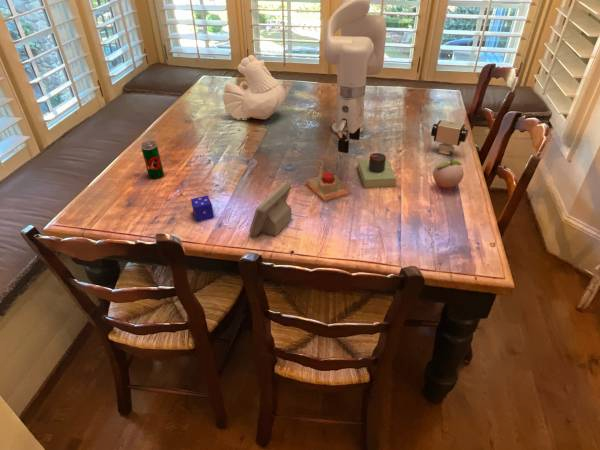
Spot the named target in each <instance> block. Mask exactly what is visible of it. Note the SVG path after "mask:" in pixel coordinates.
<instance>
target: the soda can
mask: <svg viewBox="0 0 600 450" xmlns="http://www.w3.org/2000/svg"><path fill="white" fill-rule="evenodd" d="M140 148H141V152H142V156H143V160H144V164H145V167H146V171H147V176H148V177H149V178H150V179H152V180H153V179H154V180H156V179H161V178H162V177H163V175H164V174H165V173H164V169H163V163H162V160H161V155H160V151H159V146H158V144H156V142H155V141H154V140H147V141H144V142H142V144H141V147H140Z"/></svg>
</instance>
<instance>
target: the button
mask: <svg viewBox="0 0 600 450" xmlns="http://www.w3.org/2000/svg"><path fill="white" fill-rule="evenodd" d="M322 174H323V175H322ZM322 174H321V175H322V180H323V181H324V182H332V181H334V175H335V174H334V173H333V172H332V171H331V172H329V171H327V172H323V173H322Z"/></svg>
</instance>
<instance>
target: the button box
mask: <svg viewBox="0 0 600 450" xmlns="http://www.w3.org/2000/svg"><path fill="white" fill-rule="evenodd" d="M322 175H323V173H322V174H320V175H318V176H315V177H312V178H308V179H306V181H307V187H309V188H310V189H311V190H312V191H313V192H314V193H315V194H316V195H317V196H318V197H319V198H320V199H321V200H323V201H324V202H328V201H331V200H333V199H337V198H340V197H343V196H345V195H348V194H350V187H349V186H348V185H346V184H345V183H344V182H343V181H342V180H340V179H339V177H338V175H336V174H334V181H332V182H324V181H323V180H322Z"/></svg>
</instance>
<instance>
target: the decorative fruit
mask: <svg viewBox="0 0 600 450" xmlns="http://www.w3.org/2000/svg"><path fill="white" fill-rule="evenodd" d="M461 165H462V166H463V163H462V162H460V161H459V160H453V159H450V160H448V161H446V162H441V163H439V164H437V165H436V166H435V167H434V169H433V171H432V177H433V180H434V182H435V183H436V185H438V186H439V187H441V188H443V189H446V188H447V189H448V188H453V187H456V186H457V185H459V184H460V183H461V182H462V180H463V178H464V173H465V171H464V169H463V167H462V166H461Z"/></svg>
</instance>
